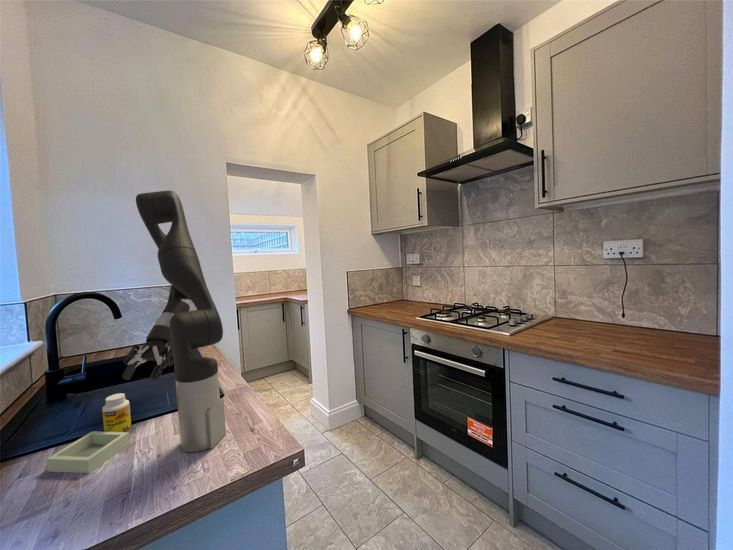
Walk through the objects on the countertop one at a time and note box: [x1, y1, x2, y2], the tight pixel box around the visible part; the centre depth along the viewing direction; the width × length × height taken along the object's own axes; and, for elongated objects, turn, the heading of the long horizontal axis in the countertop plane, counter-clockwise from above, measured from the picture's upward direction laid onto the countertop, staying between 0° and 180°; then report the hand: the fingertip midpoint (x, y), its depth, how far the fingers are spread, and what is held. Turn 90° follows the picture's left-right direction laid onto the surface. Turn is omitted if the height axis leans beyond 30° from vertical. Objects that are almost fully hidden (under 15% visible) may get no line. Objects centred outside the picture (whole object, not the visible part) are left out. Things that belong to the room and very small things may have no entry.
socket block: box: [46, 430, 130, 474], centre depth 70 cm, size 10×10×3 cm
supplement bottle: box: [101, 392, 132, 432], centre depth 79 cm, size 6×6×10 cm
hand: (139, 379), depth 86 cm, fingers open, 8 cm apart
